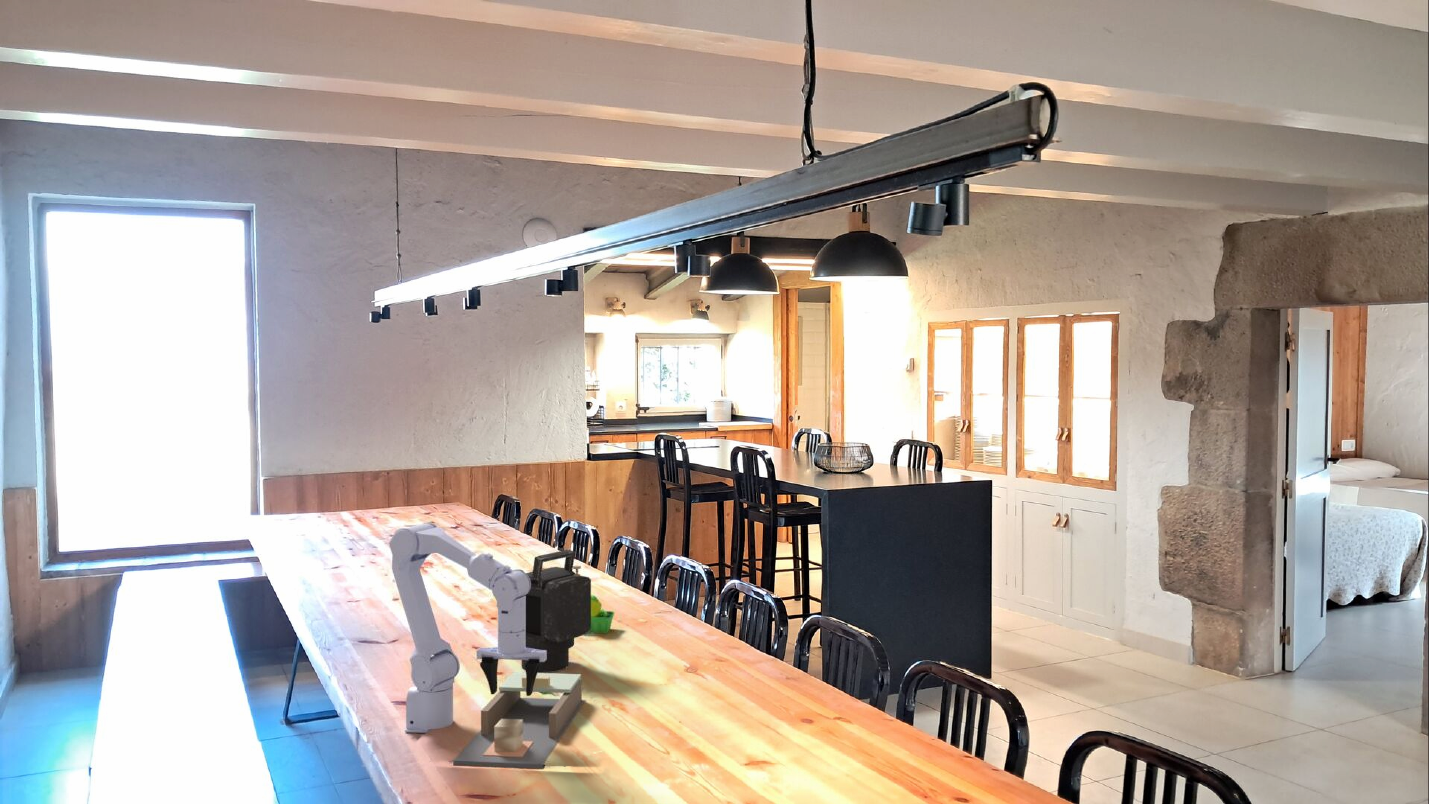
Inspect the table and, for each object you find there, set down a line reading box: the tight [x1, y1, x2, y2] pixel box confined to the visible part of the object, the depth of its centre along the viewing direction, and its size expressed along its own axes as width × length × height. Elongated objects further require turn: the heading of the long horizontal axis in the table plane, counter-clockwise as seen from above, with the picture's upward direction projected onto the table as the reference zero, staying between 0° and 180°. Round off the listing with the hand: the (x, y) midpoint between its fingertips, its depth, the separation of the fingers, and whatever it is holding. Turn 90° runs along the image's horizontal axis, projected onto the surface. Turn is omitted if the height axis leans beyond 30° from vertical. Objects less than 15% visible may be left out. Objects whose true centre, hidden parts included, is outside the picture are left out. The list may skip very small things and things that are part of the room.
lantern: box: [521, 549, 592, 673], centre depth 263 cm, size 15×18×30 cm
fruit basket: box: [587, 594, 615, 634], centre depth 299 cm, size 11×9×11 cm
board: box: [452, 677, 586, 770], centre depth 216 cm, size 18×38×6 cm, turn 175°
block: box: [494, 719, 523, 752], centre depth 204 cm, size 4×4×5 cm
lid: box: [498, 671, 582, 694], centre depth 229 cm, size 16×11×3 cm
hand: (511, 693), depth 212 cm, fingers open, 7 cm apart
